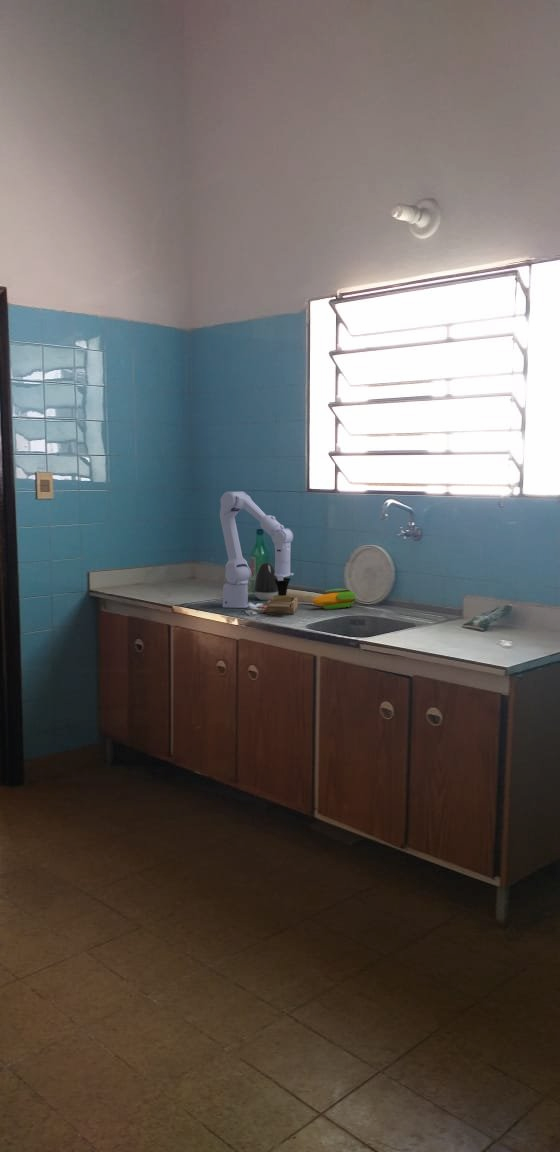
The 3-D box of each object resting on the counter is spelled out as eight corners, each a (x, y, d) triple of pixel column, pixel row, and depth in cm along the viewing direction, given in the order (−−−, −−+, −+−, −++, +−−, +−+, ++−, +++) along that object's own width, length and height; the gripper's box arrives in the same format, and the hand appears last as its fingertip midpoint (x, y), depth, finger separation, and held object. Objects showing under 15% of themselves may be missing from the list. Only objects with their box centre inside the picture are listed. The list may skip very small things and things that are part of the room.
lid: (288, 608, 328) (288, 600, 328) (267, 608, 329) (267, 600, 328) (292, 602, 342) (292, 595, 341) (272, 602, 343) (272, 594, 342)
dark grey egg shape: (280, 598, 377) (280, 561, 375) (277, 601, 366) (277, 563, 365) (255, 597, 378) (255, 560, 376) (252, 601, 367) (252, 563, 366)
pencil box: (293, 614, 334) (293, 603, 333) (266, 614, 335) (266, 602, 335) (297, 608, 350) (298, 597, 349) (271, 607, 351) (271, 596, 350)
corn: (360, 587, 352) (318, 591, 341) (361, 607, 352) (319, 611, 341) (348, 586, 358) (306, 590, 347) (348, 606, 358) (307, 610, 347)
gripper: (291, 563, 332) (291, 600, 334) (295, 559, 346) (295, 595, 348) (272, 563, 333) (271, 600, 335) (276, 559, 347) (276, 595, 349)
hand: (282, 597), depth 341 cm, fingers closed
